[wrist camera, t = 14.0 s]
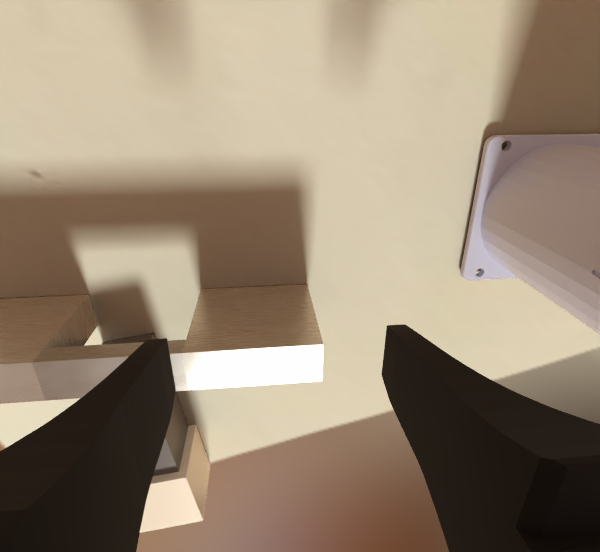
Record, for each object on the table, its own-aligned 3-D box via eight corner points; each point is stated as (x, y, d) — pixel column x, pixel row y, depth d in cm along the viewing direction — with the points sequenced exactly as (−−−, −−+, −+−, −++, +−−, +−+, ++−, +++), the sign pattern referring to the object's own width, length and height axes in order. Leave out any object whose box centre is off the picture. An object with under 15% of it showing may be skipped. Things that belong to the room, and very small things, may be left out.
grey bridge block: (307, 284, 22) (323, 344, 17) (306, 314, 23) (322, 381, 18) (-29, 300, 21) (-130, 372, 15) (-16, 332, 21) (-107, 411, 16)
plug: (163, 331, 23) (145, 375, 19) (210, 465, 28) (203, 520, 24) (94, 343, 23) (63, 390, 19) (154, 475, 27) (138, 533, 24)
